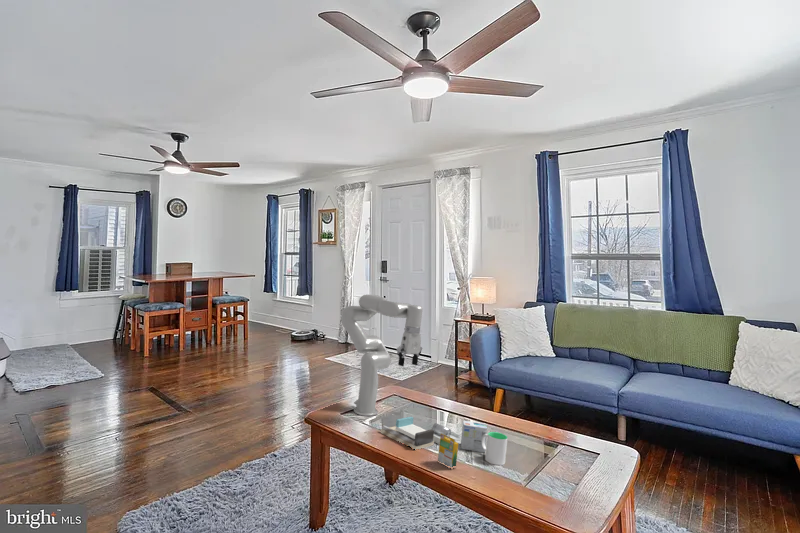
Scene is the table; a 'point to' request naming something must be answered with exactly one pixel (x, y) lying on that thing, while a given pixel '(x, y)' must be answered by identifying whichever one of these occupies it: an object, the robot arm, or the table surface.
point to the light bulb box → (473, 436)
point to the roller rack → (453, 435)
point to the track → (420, 441)
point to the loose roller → (441, 430)
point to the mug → (495, 447)
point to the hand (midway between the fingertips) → (407, 365)
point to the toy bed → (408, 427)
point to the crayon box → (448, 451)
